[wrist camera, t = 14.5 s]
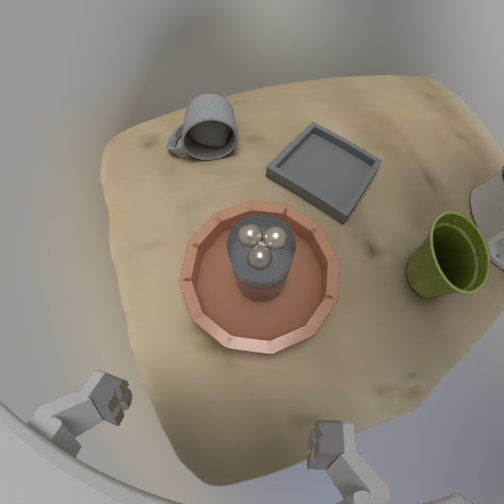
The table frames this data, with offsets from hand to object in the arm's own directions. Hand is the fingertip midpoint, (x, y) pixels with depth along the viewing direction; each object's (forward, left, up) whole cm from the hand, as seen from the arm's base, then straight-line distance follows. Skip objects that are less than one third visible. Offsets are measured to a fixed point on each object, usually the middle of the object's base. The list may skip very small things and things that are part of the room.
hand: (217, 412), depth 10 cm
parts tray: (+7, -28, -18) cm, 34 cm away
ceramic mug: (+25, -22, -18) cm, 38 cm away
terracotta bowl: (+5, -10, -18) cm, 21 cm away
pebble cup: (+5, -10, -17) cm, 20 cm away
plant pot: (-12, -23, -18) cm, 31 cm away
